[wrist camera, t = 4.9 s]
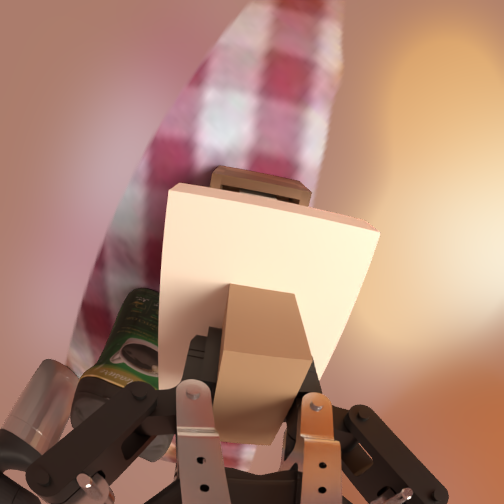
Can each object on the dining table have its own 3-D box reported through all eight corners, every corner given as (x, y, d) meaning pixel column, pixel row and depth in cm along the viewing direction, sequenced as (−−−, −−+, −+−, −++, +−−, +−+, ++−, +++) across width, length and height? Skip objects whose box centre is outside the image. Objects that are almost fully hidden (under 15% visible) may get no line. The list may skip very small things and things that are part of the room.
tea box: (272, 285, 33) (277, 316, 27) (202, 273, 32) (193, 303, 26) (299, 180, 28) (311, 192, 22) (219, 165, 27) (212, 172, 22)
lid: (295, 397, 19) (307, 472, 13) (165, 379, 18) (145, 456, 12) (364, 220, 14) (433, 277, 8) (179, 182, 13) (126, 221, 7)
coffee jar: (119, 322, 35) (61, 434, 17) (134, 276, 32) (59, 394, 15) (185, 352, 36) (157, 475, 19) (208, 310, 34) (183, 449, 17)
